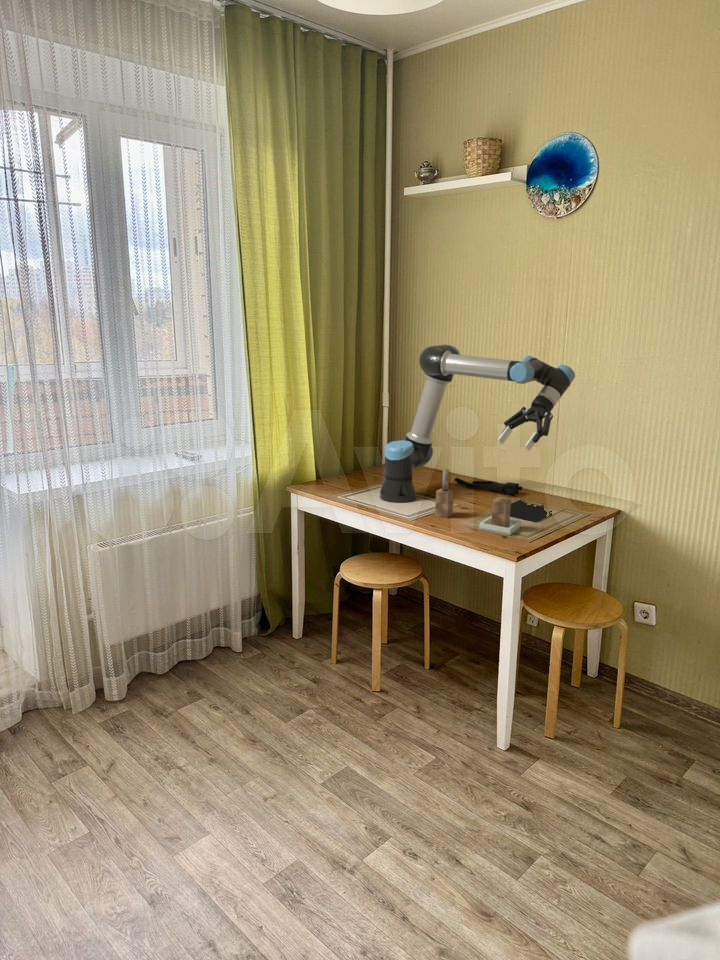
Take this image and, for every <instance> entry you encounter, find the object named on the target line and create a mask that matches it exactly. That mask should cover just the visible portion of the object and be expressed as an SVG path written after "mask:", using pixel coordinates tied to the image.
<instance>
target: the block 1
mask: <svg viewBox="0 0 720 960" xmlns="http://www.w3.org/2000/svg"><path fill="white" fill-rule="evenodd" d="M449 473H450V469H448V468H447V469H442V486H441V487H442V488H440V489H437V490H435V510H434V511H435V513H434V515H435V517H438V516H439V517H438V518H445V519H448V518H449V517H451V515H452V516H453V512H454V511H453V510H454V493H455V492H454V491H455V490H454V489H449V480H450V479H449V478H450V476H449V475H450V474H449Z"/></svg>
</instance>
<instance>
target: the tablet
mask: <svg viewBox="0 0 720 960" xmlns="http://www.w3.org/2000/svg"><path fill="white" fill-rule="evenodd" d="M521 500H522V499H519V500H517V501H514V502H511V508H510V519H514V520H519V521H521V522H522V521H523V522H527V521H528V523H531V522H532V523H531V524H538V523H537V522H539V523H541V522H542V520H543V521H544V519H545V520H546V518H547V519H549V518H551V517H553V516H552V513H551V514H550V512H552V511H550V512H549V514H550V515H549V516H548V517H549V518H548V517H547V516H546V515H547V512H546V511H545V510H544V507H543V506H544V505H542V506H538V505H537V506H536V507H535V506H533V505H534V504H531V505H527V503H524V502H525V501H524V502H523V501H521ZM490 514H491V515H492V510H491V511H490ZM550 516H551V517H550ZM540 521H541V522H540Z"/></svg>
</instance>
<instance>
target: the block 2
mask: <svg viewBox="0 0 720 960" xmlns="http://www.w3.org/2000/svg"><path fill="white" fill-rule="evenodd" d="M511 503H512V499H511V498H510V499H509V498H505V497H500V496H499V497H498V496H497V497H496V498H494V499H493V500H492V506H491V511H492V514H491V516H492V521H491V525H495V526H500V527H506V528H507V527H508V526H509V523H510V519H511V518H510V508H511Z"/></svg>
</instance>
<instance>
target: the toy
mask: <svg viewBox="0 0 720 960" xmlns="http://www.w3.org/2000/svg"><path fill="white" fill-rule="evenodd" d="M454 482H456V483H457V484H460V485H462V486H466V488H470V487H471V488H470V489H486V490H487V489H488V491H492V492H499V493H502V494H504V495H505V496H508V495H509V497H516V496H518V495H520V494H519V493H520V492H519V491H523V486H520V484H519V483H515V482H506V483H499V482H496V481H492V480H473V481H471V482H468V481H466V480H465V479H464V480H463V479H461V478H459V477H455V478H454ZM517 494H518V495H517ZM515 495H516V496H515Z"/></svg>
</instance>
